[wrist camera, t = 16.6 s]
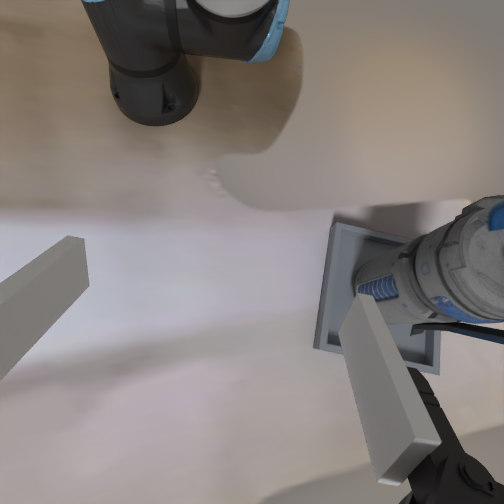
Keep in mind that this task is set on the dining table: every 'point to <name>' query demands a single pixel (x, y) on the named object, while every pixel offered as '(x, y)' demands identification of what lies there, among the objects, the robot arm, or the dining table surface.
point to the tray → (341, 297)
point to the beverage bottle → (445, 276)
